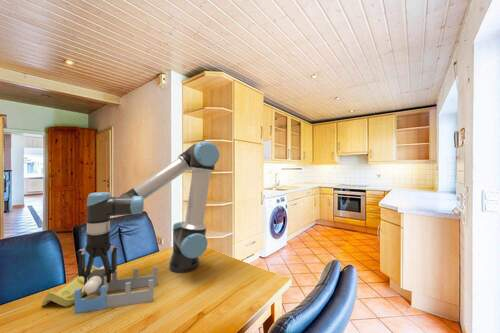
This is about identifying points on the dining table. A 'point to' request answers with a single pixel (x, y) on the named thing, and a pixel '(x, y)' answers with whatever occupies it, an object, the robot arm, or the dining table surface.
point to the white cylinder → (95, 280)
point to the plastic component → (67, 292)
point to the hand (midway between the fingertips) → (97, 291)
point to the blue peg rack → (120, 298)
